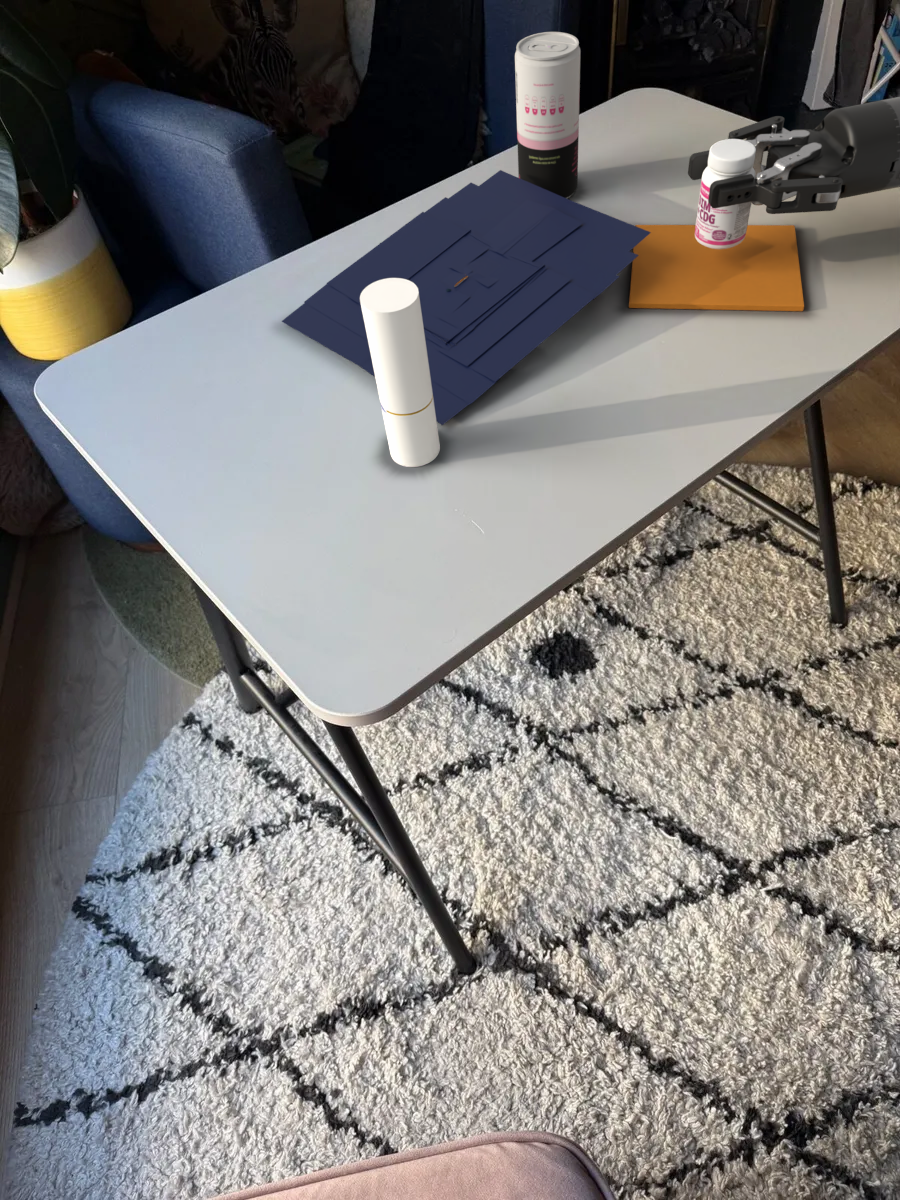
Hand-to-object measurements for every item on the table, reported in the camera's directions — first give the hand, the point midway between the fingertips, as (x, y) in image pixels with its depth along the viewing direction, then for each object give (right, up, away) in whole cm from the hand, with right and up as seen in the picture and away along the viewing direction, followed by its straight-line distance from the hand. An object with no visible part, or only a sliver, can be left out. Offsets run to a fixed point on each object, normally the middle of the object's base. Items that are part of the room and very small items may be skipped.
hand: (701, 181), depth 80 cm
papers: (-21, -8, +8) cm, 24 cm away
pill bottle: (+3, -3, +5) cm, 7 cm away
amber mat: (+3, -5, +7) cm, 10 cm away
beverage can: (-12, +8, +19) cm, 24 cm away
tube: (-26, -25, -5) cm, 37 cm away
